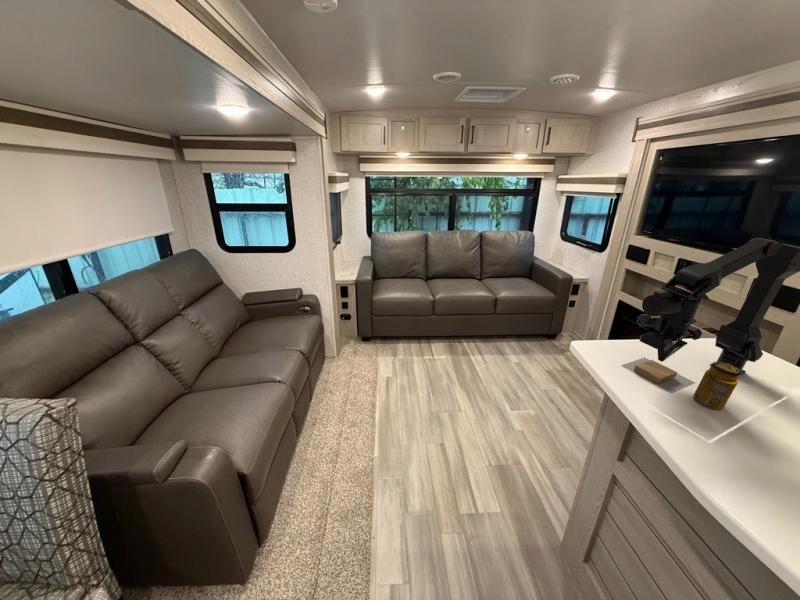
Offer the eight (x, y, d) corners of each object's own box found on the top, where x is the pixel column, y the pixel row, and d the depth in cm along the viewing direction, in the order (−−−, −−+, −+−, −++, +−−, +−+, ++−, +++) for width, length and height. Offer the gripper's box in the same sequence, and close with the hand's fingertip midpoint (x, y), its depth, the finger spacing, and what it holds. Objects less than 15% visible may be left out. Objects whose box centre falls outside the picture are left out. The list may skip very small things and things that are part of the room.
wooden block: (651, 359, 96) (635, 365, 93) (677, 372, 90) (661, 378, 88) (649, 365, 97) (633, 371, 94) (674, 378, 91) (658, 385, 88)
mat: (644, 358, 102) (644, 357, 102) (694, 383, 90) (695, 382, 90) (620, 366, 97) (620, 365, 97) (670, 394, 85) (671, 393, 85)
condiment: (728, 407, 81) (749, 369, 77) (718, 420, 77) (740, 381, 72) (693, 391, 87) (710, 355, 82) (682, 402, 83) (700, 365, 78)
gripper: (667, 297, 95) (650, 341, 101) (629, 307, 88) (613, 353, 94) (712, 312, 86) (690, 359, 92) (673, 324, 79) (652, 374, 85)
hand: (660, 360), depth 91 cm, fingers closed
